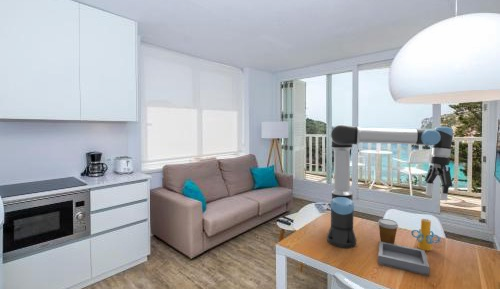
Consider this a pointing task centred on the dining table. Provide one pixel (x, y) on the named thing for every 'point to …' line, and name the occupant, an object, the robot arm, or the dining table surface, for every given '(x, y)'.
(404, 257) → the grey tray
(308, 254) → the dining table surface
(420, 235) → the yellow post with rings
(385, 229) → the disposable coffee cup
